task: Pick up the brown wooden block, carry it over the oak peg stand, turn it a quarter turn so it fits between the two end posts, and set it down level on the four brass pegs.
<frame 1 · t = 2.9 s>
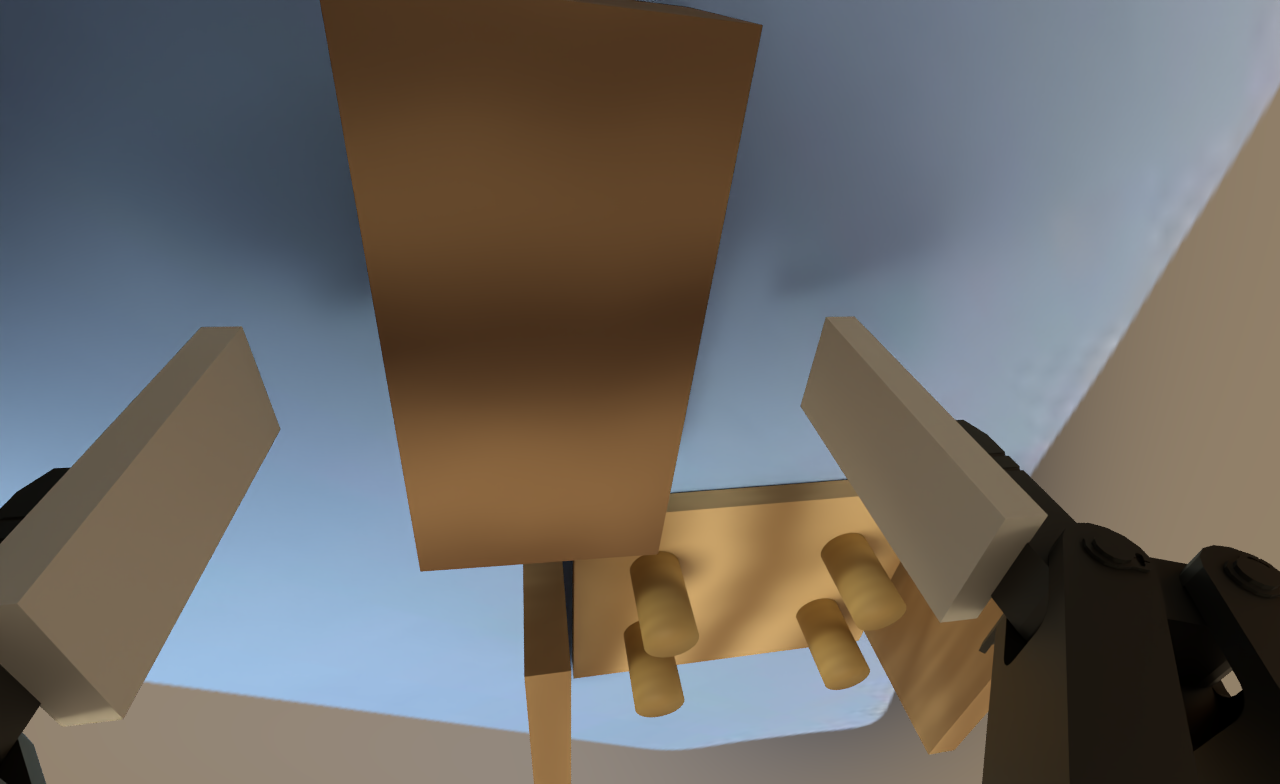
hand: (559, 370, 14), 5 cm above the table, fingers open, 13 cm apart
brown wooden block: (539, 267, 17), on the table
stand: (735, 573, 28), on the table
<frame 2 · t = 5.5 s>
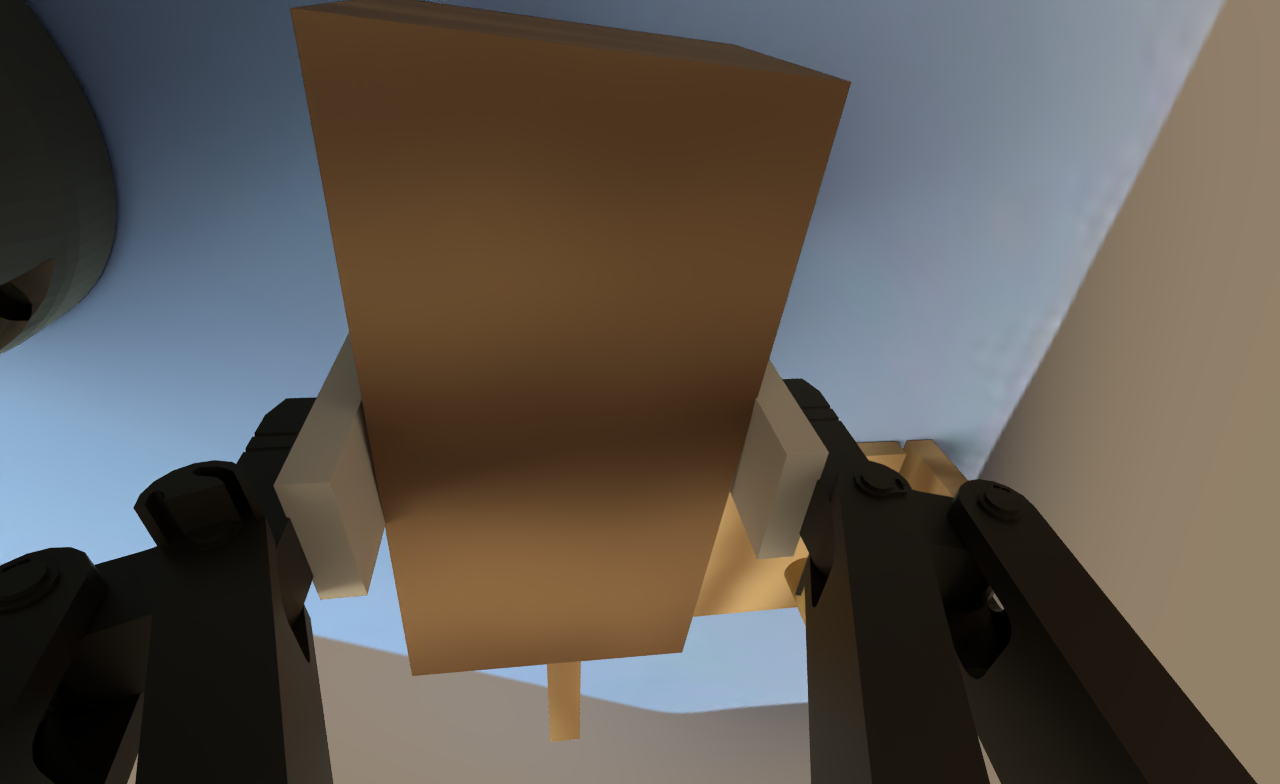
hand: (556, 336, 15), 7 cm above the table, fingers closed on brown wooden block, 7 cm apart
brown wooden block: (555, 327, 16), point 7 cm above the table, touching gripper
stand: (729, 532, 32), on the table
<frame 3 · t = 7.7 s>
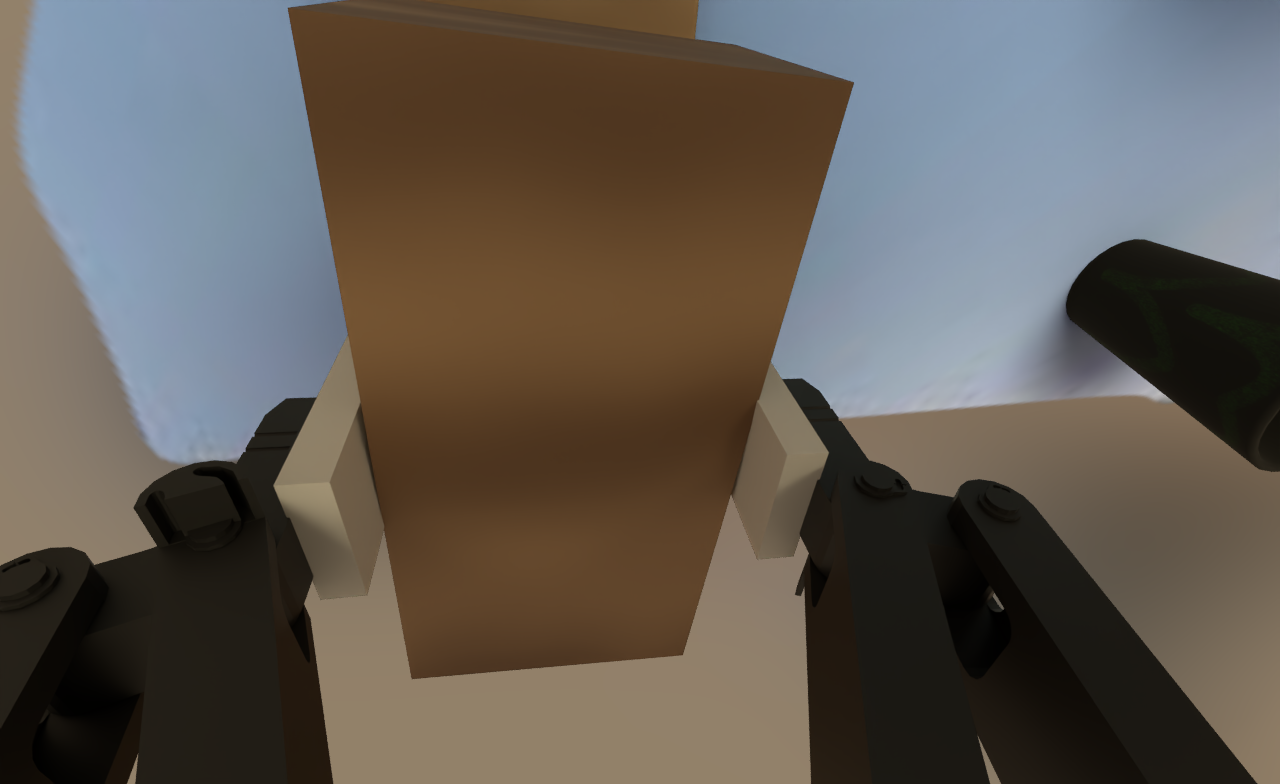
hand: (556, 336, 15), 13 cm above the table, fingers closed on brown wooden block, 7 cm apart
brown wooden block: (555, 328, 15), point 12 cm above the table, touching gripper
stand: (541, 190, 25), on the table
cup: (1109, 283, 34), on the table
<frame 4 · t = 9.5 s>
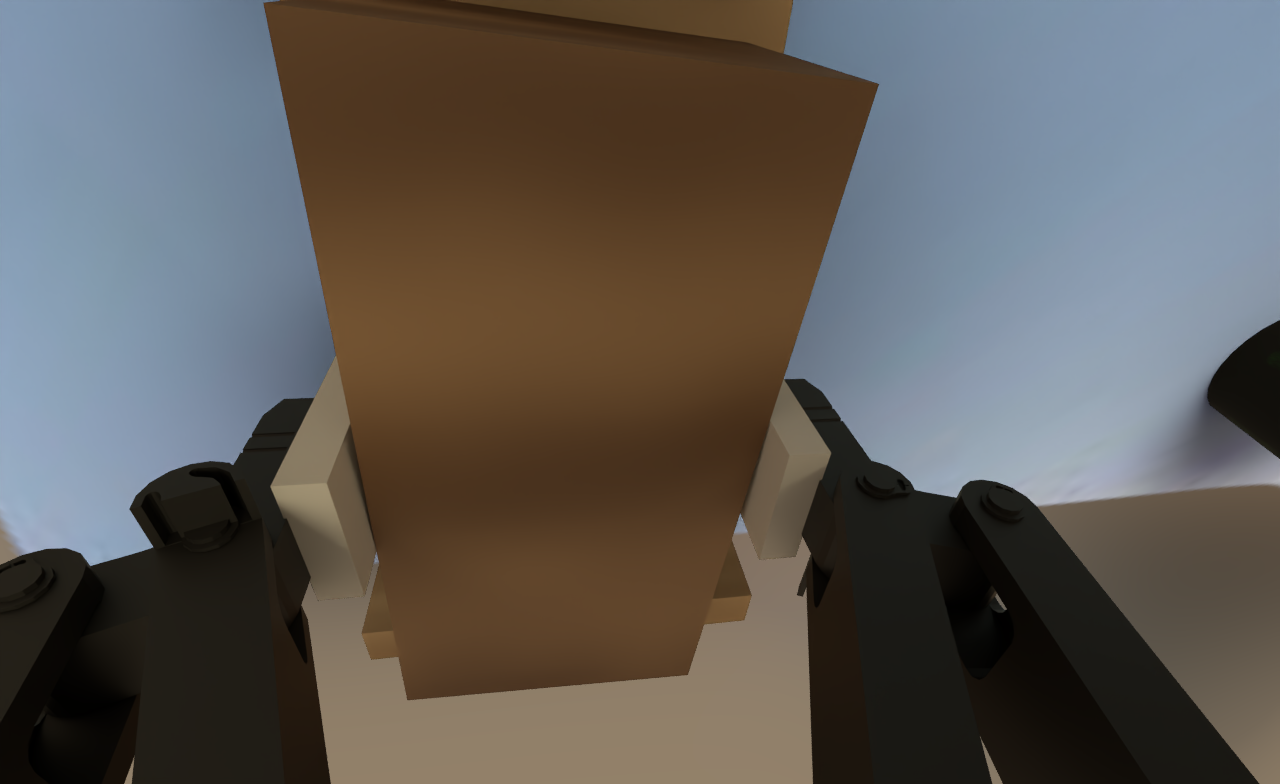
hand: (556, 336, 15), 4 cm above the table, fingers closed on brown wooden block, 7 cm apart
brown wooden block: (557, 336, 15), point 4 cm above the table, touching gripper, stand
stand: (554, 261, 18), on the table
cup: (1264, 362, 27), on the table
when the fingers open (4 cm above the table, at t = 10.3 s): brown wooden block stays where it is, resting on stand.
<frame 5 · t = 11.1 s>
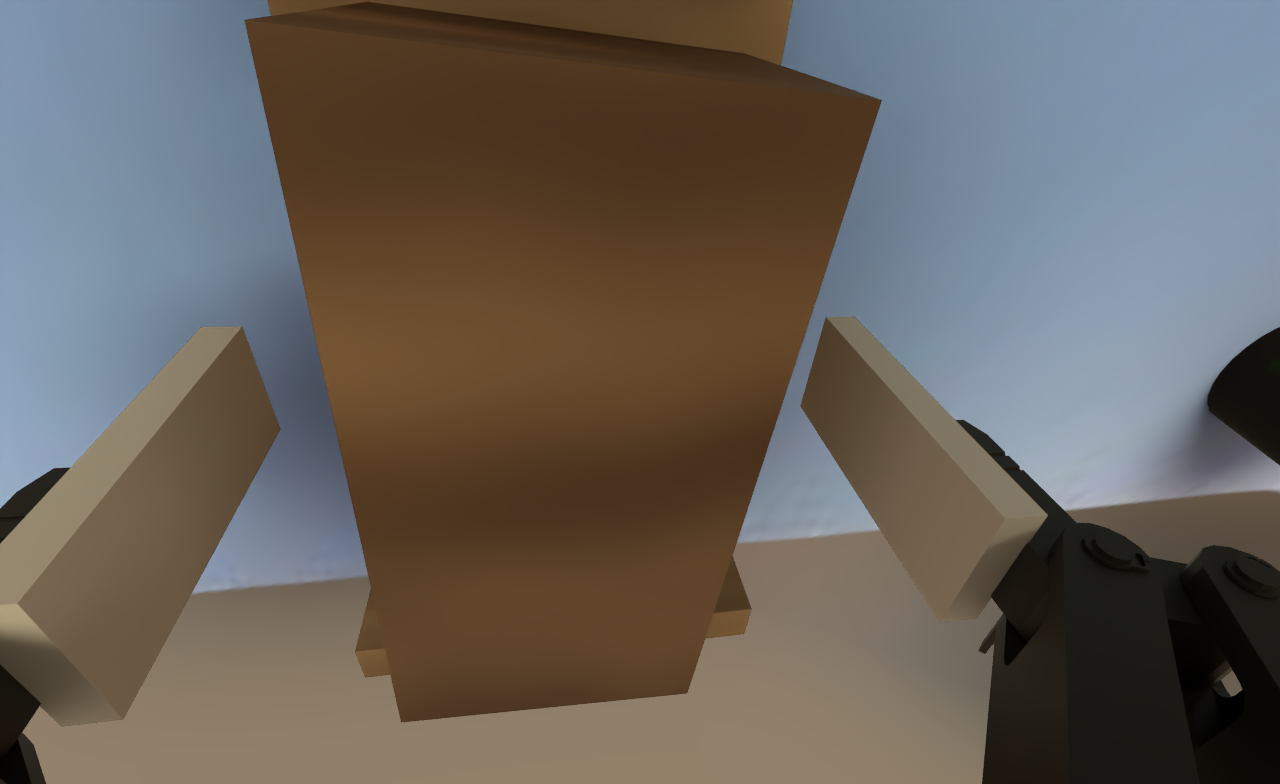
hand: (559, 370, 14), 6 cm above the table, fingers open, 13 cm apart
brown wooden block: (553, 349, 15), point 4 cm above the table, touching stand
stand: (550, 272, 18), on the table
cup: (1264, 368, 27), on the table
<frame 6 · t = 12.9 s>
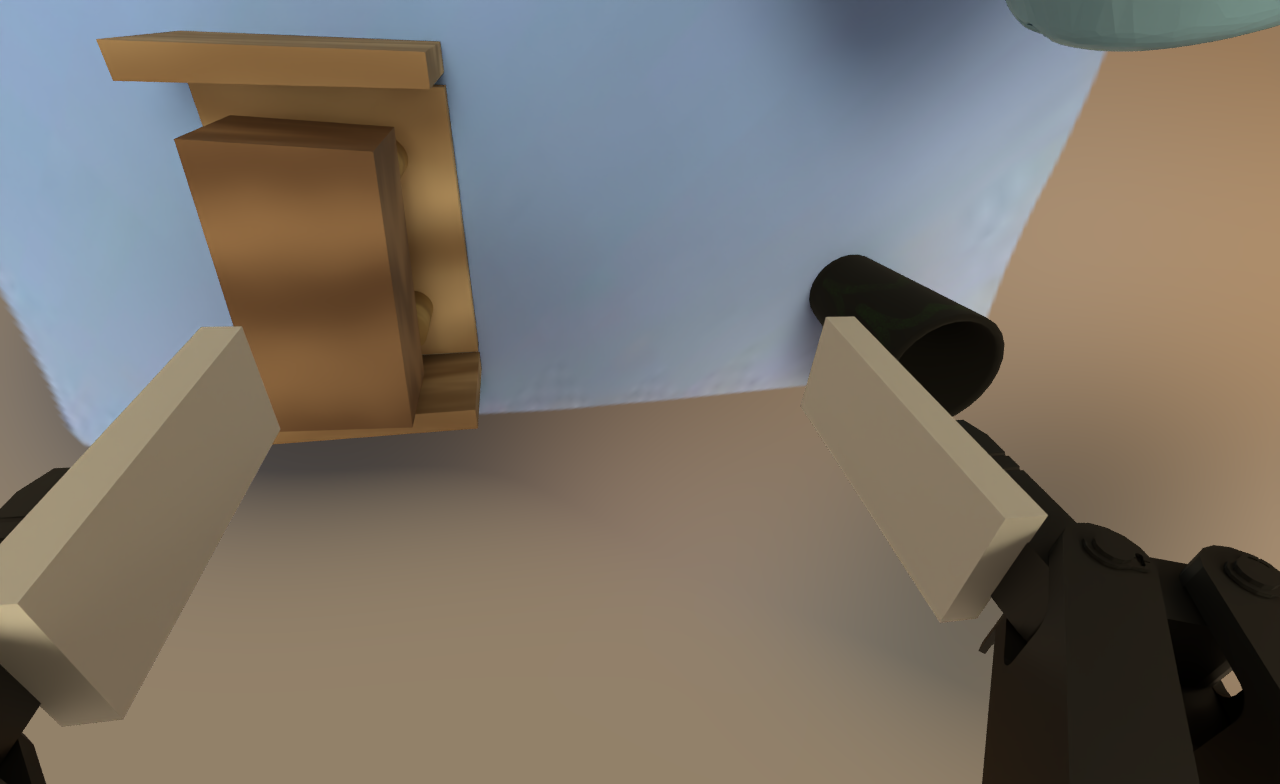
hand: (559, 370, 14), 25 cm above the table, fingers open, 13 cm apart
brown wooden block: (341, 263, 31), point 4 cm above the table, touching stand
stand: (360, 232, 34), on the table
cup: (843, 289, 43), on the table
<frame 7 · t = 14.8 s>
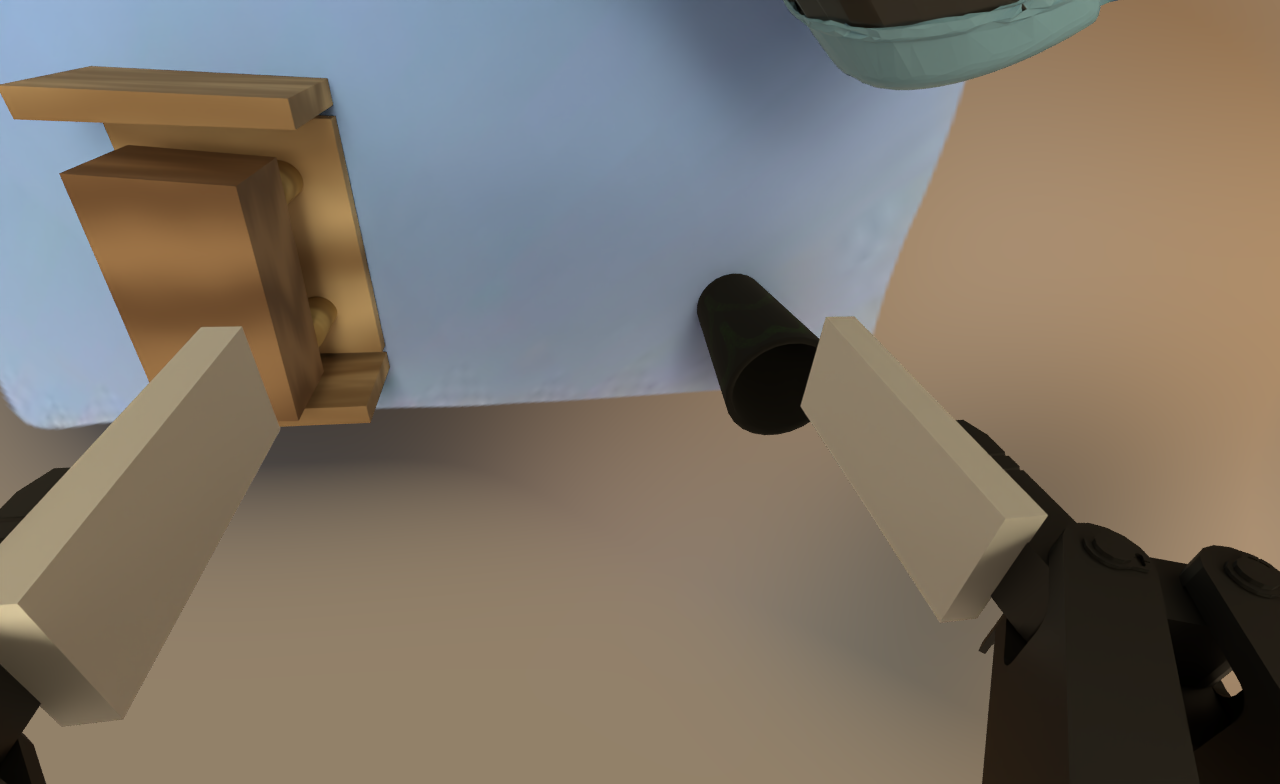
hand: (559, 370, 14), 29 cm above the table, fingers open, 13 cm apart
brown wooden block: (238, 273, 35), point 4 cm above the table, touching stand
stand: (266, 243, 38), on the table
cup: (729, 304, 47), on the table
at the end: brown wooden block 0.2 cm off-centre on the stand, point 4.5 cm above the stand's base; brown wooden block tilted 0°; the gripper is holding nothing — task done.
